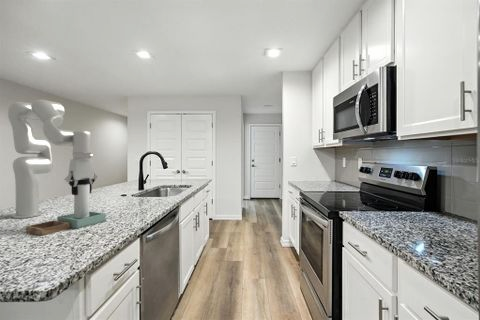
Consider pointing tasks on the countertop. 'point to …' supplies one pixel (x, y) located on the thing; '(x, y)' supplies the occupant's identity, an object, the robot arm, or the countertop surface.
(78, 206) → the travel mug
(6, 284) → the countertop surface
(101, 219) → the tray
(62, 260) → the countertop surface
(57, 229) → the brown wooden tray
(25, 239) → the countertop surface
